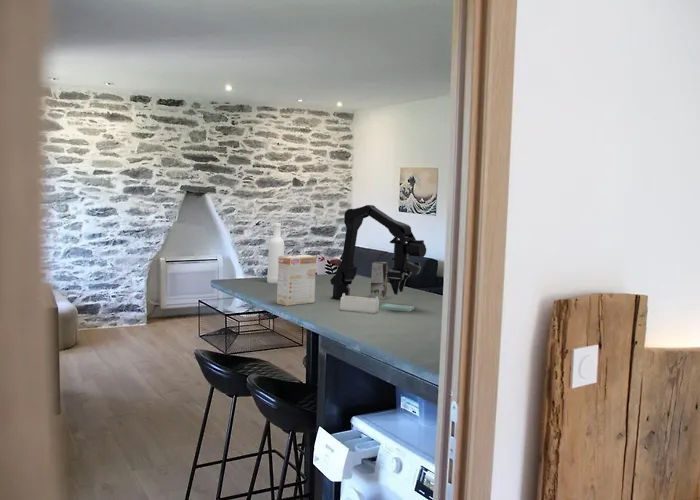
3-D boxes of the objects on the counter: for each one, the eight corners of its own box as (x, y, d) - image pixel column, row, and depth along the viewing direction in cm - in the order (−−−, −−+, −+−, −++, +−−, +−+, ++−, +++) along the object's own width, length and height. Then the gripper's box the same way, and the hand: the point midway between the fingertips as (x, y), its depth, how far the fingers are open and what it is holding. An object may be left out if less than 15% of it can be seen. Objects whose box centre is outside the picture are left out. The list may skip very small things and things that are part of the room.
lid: (380, 309, 250) (380, 305, 250) (385, 307, 257) (385, 303, 257) (410, 312, 247) (410, 309, 246) (414, 310, 254) (414, 306, 254)
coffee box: (383, 299, 272) (386, 263, 271) (369, 298, 273) (371, 262, 272) (386, 296, 281) (388, 261, 280) (373, 295, 282) (374, 260, 281)
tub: (339, 310, 242) (340, 294, 241) (344, 307, 247) (345, 292, 247) (374, 313, 237) (375, 298, 237) (378, 311, 243) (379, 295, 242)
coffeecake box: (304, 300, 260) (306, 254, 259) (315, 302, 255) (317, 256, 254) (275, 303, 250) (277, 255, 248) (286, 306, 245) (288, 257, 243)
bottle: (264, 282, 306) (267, 222, 303) (269, 280, 313) (271, 222, 311) (280, 284, 304) (283, 223, 302) (284, 282, 312) (287, 223, 310)
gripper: (415, 258, 239) (413, 298, 240) (424, 255, 256) (422, 292, 258) (387, 256, 242) (385, 295, 243) (398, 253, 260) (396, 289, 261)
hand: (398, 293), depth 251 cm, fingers open, 9 cm apart
